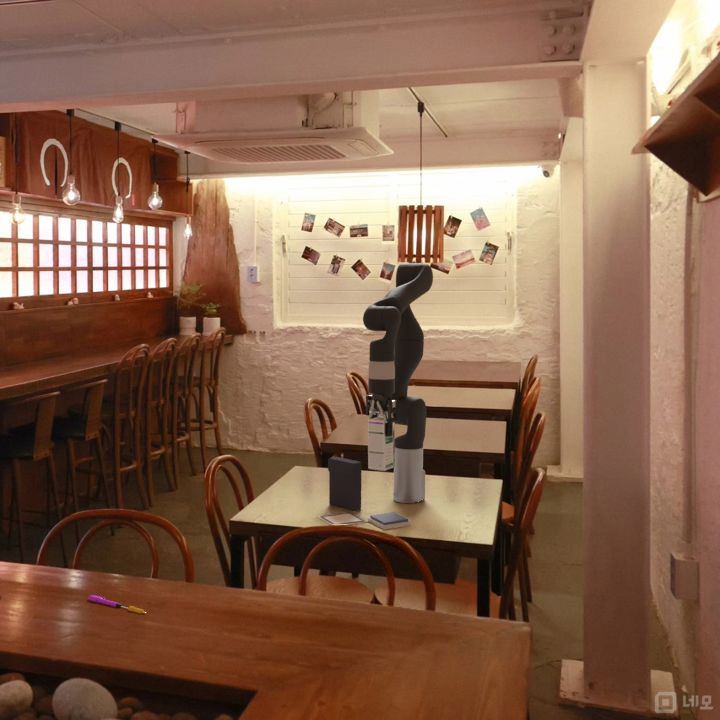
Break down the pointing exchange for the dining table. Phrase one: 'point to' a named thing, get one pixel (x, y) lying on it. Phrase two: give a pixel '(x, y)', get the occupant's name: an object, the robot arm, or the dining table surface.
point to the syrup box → (380, 446)
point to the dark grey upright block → (344, 483)
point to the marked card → (342, 518)
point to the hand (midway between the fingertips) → (381, 433)
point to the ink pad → (389, 520)
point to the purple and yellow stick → (114, 604)
